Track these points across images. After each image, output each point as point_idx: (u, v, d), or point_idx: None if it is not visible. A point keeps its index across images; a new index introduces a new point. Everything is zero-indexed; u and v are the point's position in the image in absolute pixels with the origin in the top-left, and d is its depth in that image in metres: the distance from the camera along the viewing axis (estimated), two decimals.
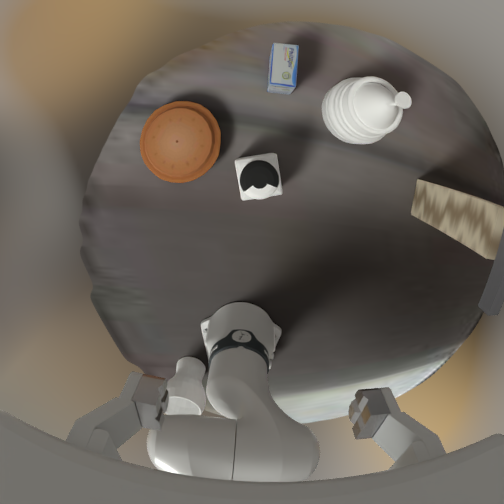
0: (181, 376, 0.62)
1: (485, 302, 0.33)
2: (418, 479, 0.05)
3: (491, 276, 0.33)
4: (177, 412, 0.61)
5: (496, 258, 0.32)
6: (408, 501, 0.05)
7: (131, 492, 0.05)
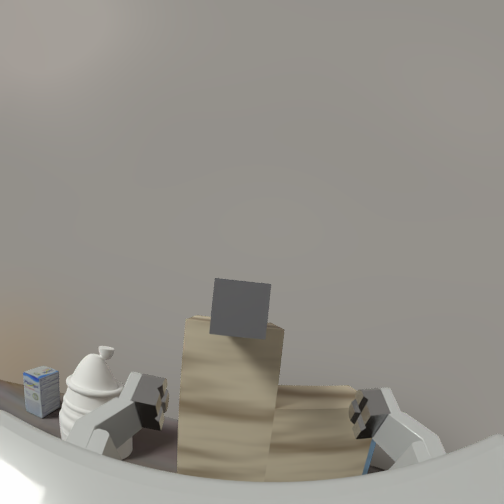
0: None
1: None
2: (418, 479, 0.05)
3: None
4: None
5: None
6: (408, 501, 0.05)
7: (131, 492, 0.05)
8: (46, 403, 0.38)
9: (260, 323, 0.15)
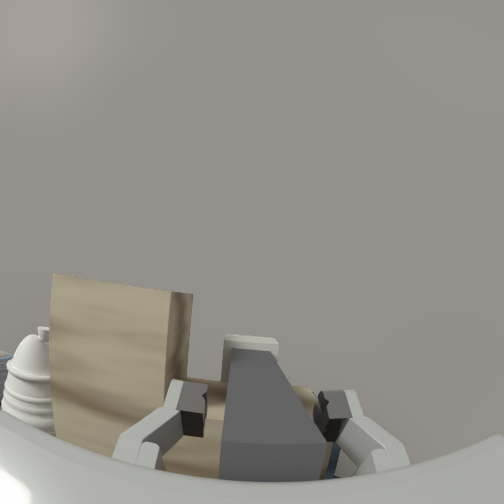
0: None
1: None
2: (419, 479, 0.05)
3: None
4: None
5: None
6: (408, 501, 0.05)
7: (131, 492, 0.05)
8: None
9: None
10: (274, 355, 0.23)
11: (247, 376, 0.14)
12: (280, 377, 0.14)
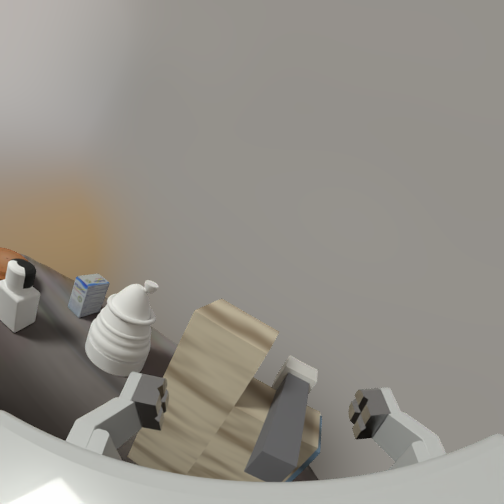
0: None
1: (255, 452, 0.19)
2: (418, 479, 0.05)
3: (261, 433, 0.23)
4: None
5: (266, 419, 0.26)
6: (408, 501, 0.05)
7: (131, 492, 0.05)
8: (87, 307, 0.57)
9: (278, 479, 0.17)
10: (310, 387, 0.32)
11: (286, 409, 0.25)
12: (302, 416, 0.24)
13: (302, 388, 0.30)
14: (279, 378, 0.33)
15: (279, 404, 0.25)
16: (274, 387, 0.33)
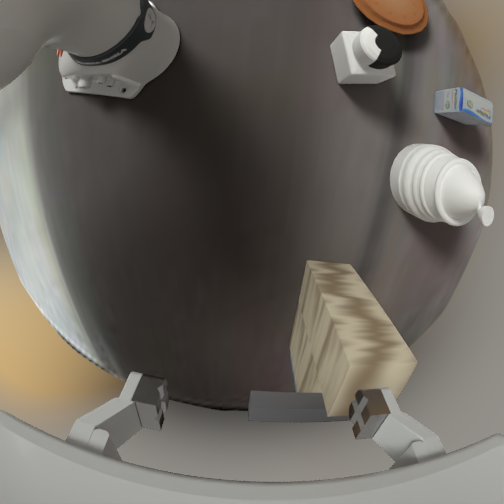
0: None
1: (261, 398, 0.34)
2: (419, 479, 0.05)
3: (292, 395, 0.35)
4: None
5: (313, 394, 0.35)
6: (408, 501, 0.05)
7: (131, 492, 0.05)
8: (450, 115, 0.37)
9: None
10: None
11: (308, 413, 0.33)
12: (306, 420, 0.33)
13: None
14: None
15: (312, 409, 0.32)
16: None
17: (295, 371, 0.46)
